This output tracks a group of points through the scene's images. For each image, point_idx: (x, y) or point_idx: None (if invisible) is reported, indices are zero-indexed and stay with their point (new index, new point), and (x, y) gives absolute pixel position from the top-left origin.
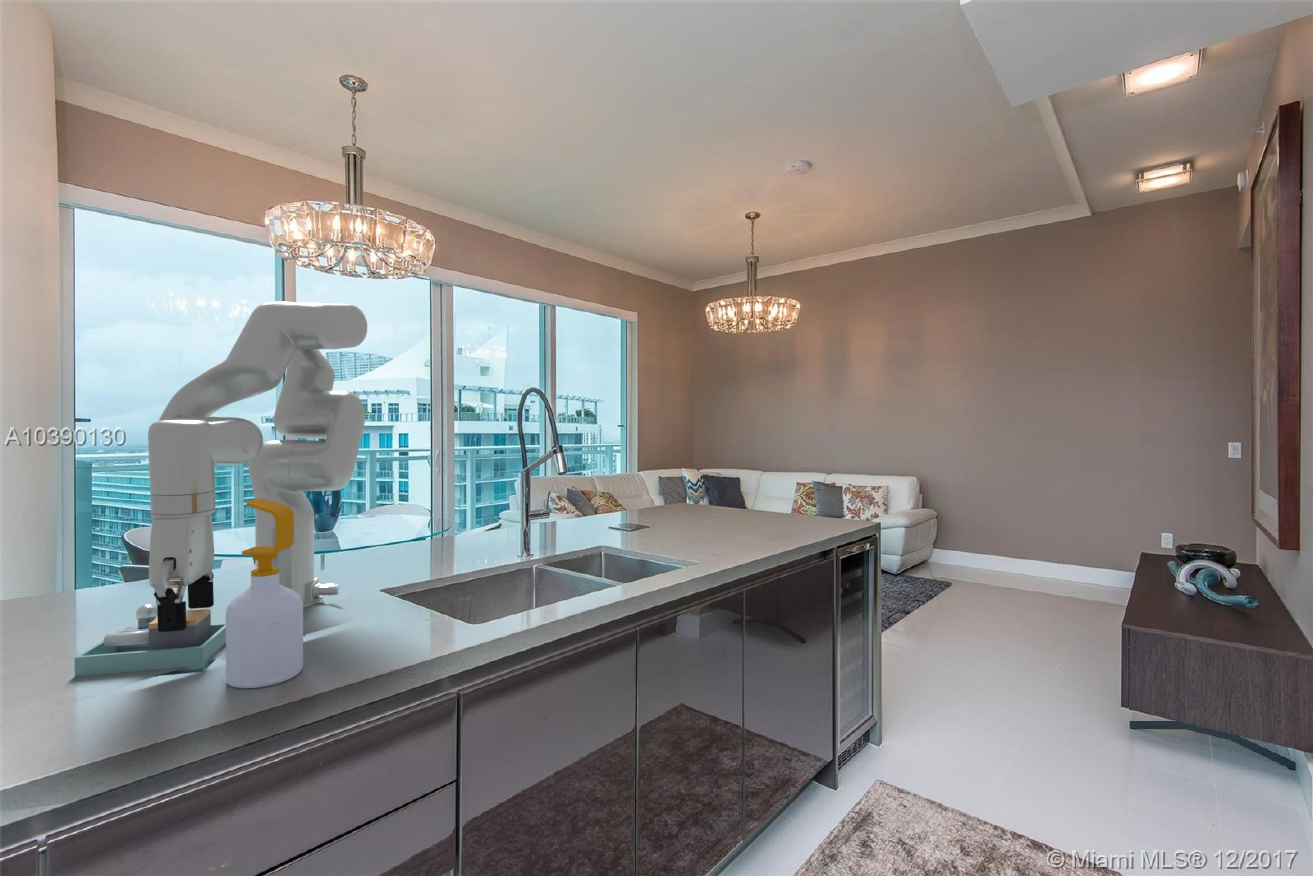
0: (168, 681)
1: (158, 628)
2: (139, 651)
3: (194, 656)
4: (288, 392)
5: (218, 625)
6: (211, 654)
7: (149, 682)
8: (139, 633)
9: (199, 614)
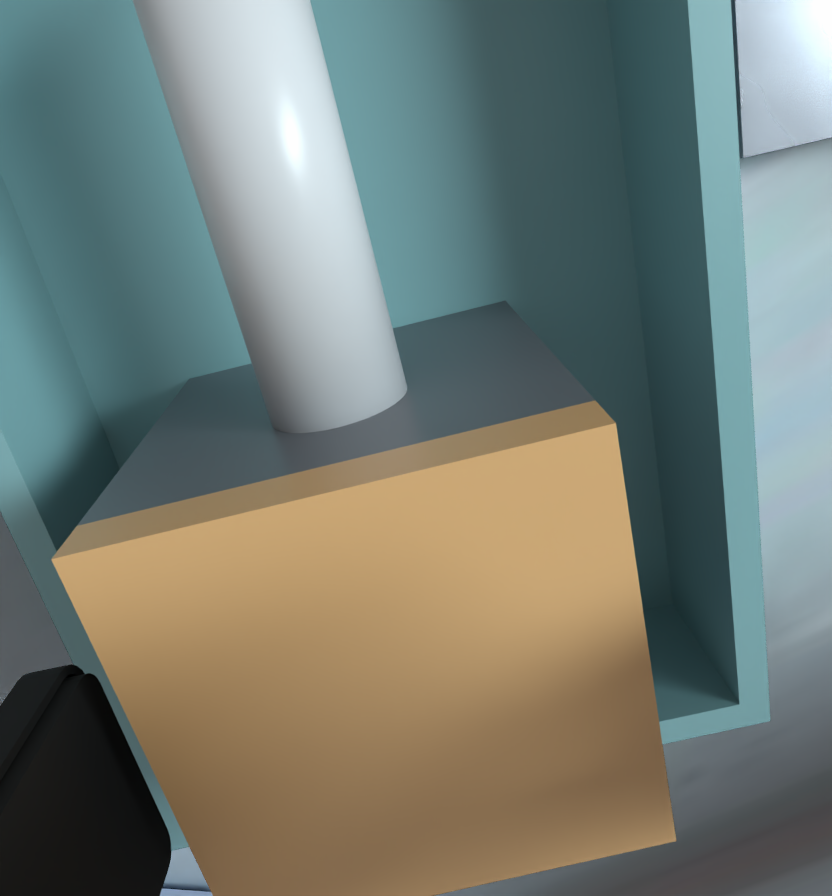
0: (42, 612)
1: (10, 699)
2: (4, 449)
3: None
4: None
5: (736, 651)
6: None
7: None
8: (241, 272)
9: (455, 858)
